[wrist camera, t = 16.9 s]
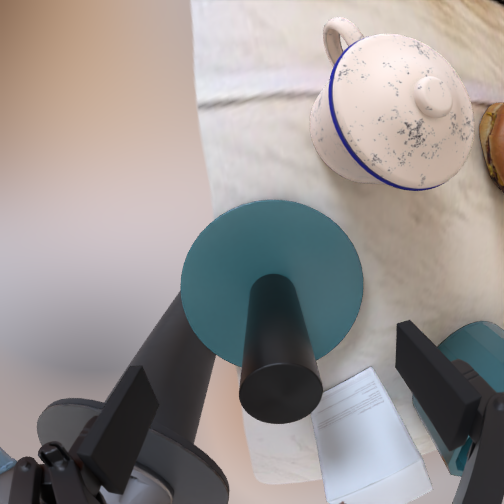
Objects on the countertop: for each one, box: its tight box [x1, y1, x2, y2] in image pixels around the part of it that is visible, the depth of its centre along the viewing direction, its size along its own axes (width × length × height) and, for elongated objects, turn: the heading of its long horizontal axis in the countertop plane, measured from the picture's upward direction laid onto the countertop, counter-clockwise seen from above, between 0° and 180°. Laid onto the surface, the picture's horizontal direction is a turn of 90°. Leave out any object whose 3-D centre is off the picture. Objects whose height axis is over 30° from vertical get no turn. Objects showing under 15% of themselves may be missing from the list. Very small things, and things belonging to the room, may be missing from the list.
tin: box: [412, 321, 504, 477], centre depth 21 cm, size 14×14×10 cm
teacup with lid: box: [310, 17, 474, 191], centre depth 16 cm, size 12×9×12 cm
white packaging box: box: [311, 367, 433, 504], centre depth 21 cm, size 7×7×13 cm
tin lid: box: [181, 200, 363, 424], centre depth 18 cm, size 15×15×13 cm
